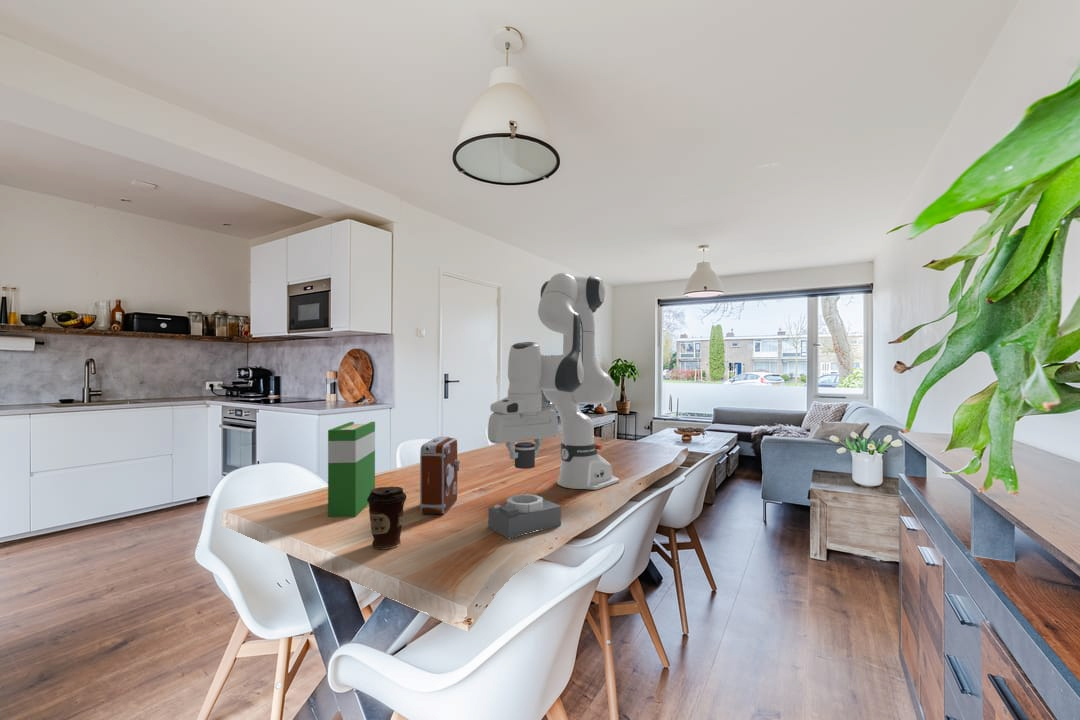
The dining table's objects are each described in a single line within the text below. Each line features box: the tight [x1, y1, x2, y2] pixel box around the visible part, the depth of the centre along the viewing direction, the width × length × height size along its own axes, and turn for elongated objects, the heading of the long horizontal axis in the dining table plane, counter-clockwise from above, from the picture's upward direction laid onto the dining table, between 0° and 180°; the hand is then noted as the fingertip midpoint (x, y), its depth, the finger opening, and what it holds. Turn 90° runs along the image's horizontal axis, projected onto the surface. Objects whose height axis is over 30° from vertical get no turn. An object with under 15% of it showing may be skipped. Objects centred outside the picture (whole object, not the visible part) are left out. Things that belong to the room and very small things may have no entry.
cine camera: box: [419, 436, 461, 515], centre depth 137 cm, size 9×19×20 cm, turn 174°
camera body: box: [487, 493, 562, 539], centre depth 119 cm, size 16×10×7 cm, turn 126°
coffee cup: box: [367, 486, 407, 550], centre depth 107 cm, size 9×8×13 cm
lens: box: [514, 441, 536, 470], centre depth 119 cm, size 5×5×6 cm
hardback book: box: [327, 421, 376, 518], centre depth 135 cm, size 18×7×24 cm, turn 3°
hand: (524, 457), depth 119 cm, fingers closed on lens, 5 cm apart
